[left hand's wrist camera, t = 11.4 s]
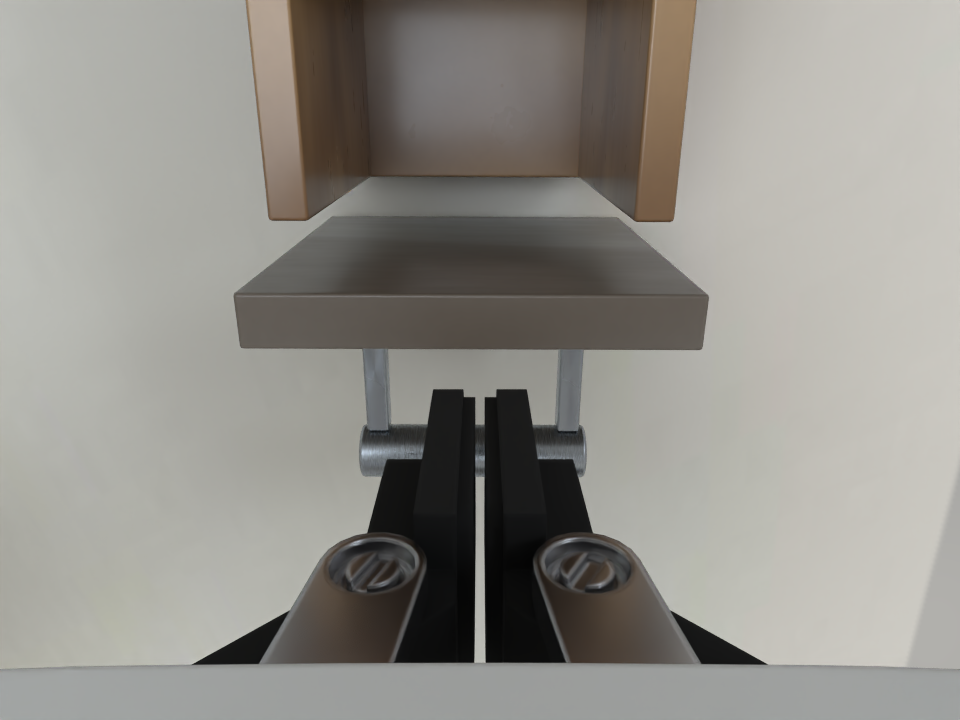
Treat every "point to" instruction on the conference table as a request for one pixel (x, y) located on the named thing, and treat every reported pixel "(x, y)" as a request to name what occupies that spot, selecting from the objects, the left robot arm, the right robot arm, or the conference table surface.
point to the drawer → (471, 153)
